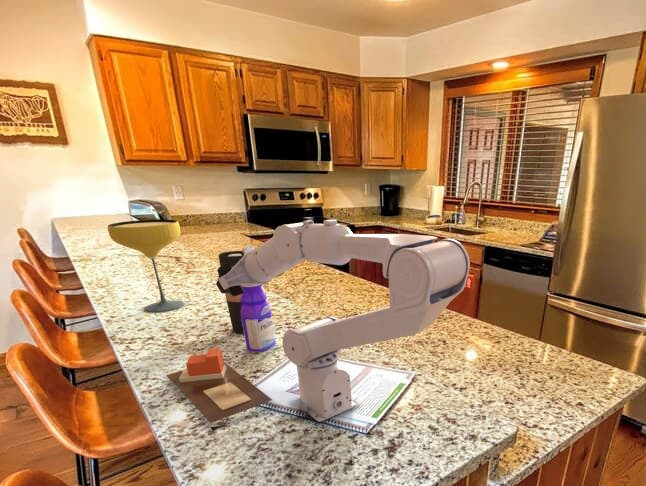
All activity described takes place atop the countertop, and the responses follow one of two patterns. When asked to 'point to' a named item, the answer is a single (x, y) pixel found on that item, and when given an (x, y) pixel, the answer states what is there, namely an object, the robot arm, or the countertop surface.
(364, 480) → the countertop surface
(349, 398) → the robot arm
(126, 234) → the cocktail glass
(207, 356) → the orange cube on base
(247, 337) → the bottle
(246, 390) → the flat brown mat
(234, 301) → the travel mug
